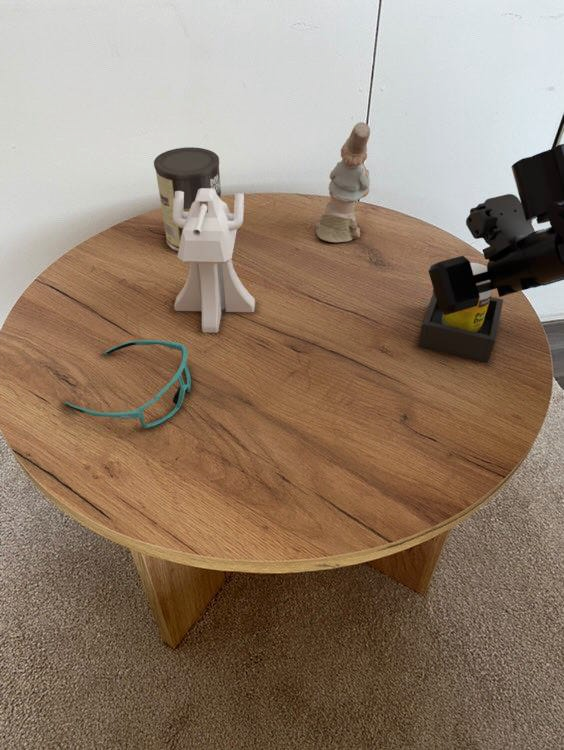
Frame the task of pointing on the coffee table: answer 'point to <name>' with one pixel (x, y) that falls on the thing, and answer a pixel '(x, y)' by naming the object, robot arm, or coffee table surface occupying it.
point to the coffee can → (184, 182)
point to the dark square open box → (461, 333)
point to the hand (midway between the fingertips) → (463, 285)
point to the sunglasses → (177, 397)
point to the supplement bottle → (471, 316)
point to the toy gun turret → (210, 257)
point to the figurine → (346, 189)
